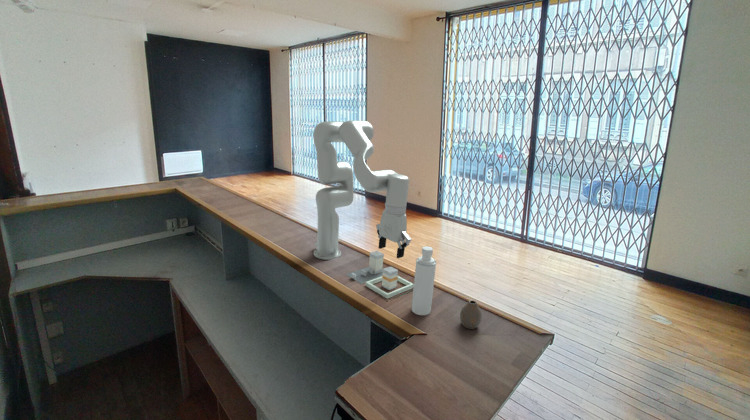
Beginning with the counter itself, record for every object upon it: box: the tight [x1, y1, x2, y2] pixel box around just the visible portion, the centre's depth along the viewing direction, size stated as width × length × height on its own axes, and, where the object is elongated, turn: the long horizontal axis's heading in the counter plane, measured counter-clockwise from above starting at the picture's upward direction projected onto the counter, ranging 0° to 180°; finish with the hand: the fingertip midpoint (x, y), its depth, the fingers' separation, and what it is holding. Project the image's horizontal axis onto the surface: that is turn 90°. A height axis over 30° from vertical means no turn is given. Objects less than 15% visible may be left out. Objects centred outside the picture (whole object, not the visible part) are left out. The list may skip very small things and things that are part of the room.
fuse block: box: [345, 266, 383, 285], centre depth 152 cm, size 10×15×4 cm, turn 132°
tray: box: [365, 275, 414, 301], centre depth 143 cm, size 12×14×3 cm
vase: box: [459, 299, 483, 330], centre depth 123 cm, size 7×7×9 cm
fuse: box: [368, 250, 385, 274], centre depth 154 cm, size 4×4×8 cm
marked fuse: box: [381, 266, 399, 291], centre depth 143 cm, size 4×4×8 cm
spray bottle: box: [411, 245, 437, 316], centre depth 128 cm, size 7×7×25 cm
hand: (390, 252), depth 140 cm, fingers open, 9 cm apart
